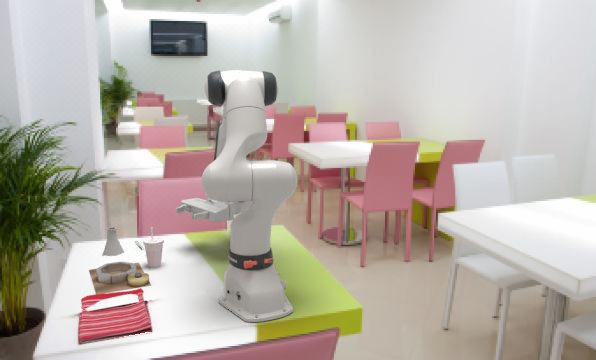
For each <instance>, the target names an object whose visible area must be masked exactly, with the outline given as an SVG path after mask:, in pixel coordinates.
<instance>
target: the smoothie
mask: <svg viewBox="0 0 596 360" xmlns="http://www.w3.org/2000/svg"><path fill="white" fill-rule="evenodd" d="M153 228H154V227H153V226H151V227H150V236H151V237H147V238H144V239H143V241H142V244H143V245H144V249H145V250H144V252H145V257H146V262H147V266H148V268H152V269H153V268H159V267H161V265H162V258H163V248H164V243H165V239H164V238H163V237H160V236H154V229H153Z"/></svg>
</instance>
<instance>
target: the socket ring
mask: <svg viewBox="0 0 596 360" xmlns="http://www.w3.org/2000/svg"><path fill="white" fill-rule="evenodd" d="M133 263H134V262H127V261H117V262H116V261H115V262H109V263H104V264H102V265H100V266H99V267H97V268H95V269H96V276H97V280H98V282H100V283H106V284H117V283H123V282H127V281H128V276H129V275H131V274H134V273H137V269H136V266H135V264H133ZM115 271H127V272H125V273H119V274H113V275H112V274H107V273H108V272H115Z"/></svg>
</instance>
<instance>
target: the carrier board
mask: <svg viewBox="0 0 596 360" xmlns="http://www.w3.org/2000/svg"><path fill="white" fill-rule="evenodd" d="M132 263H133V264H135V266H136V269H137V273H134V274H131V275H129V276H128V281H127V282H123V283H117V284H106V283H100V282H98V280H97V276H96V269H97V268H92V269H91V268H90V269H88V272H89V275H90V277H91V278H90V279H91V282H92V285H93V289H94V292H95V294H107V293H114V292H123V291H127V290H128V291H129V290H134V289H140V288H145V287H149V286H152V284H151V282H150V274H149V273H147V272H145V271H144V270H143V268H142V267H141V264H140V263H139V262H132ZM125 272H127V271H115V272H108V273H107V274H112V275H113V274H119V273H125Z"/></svg>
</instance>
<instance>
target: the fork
mask: <svg viewBox="0 0 596 360" xmlns="http://www.w3.org/2000/svg"><path fill="white" fill-rule="evenodd" d="M138 241H139V240H135V241H134V243H135V245H137V246H138V247H140V249H142V251H145V247H143V246H142V244H141V242H140V241H139V242H138Z"/></svg>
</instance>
